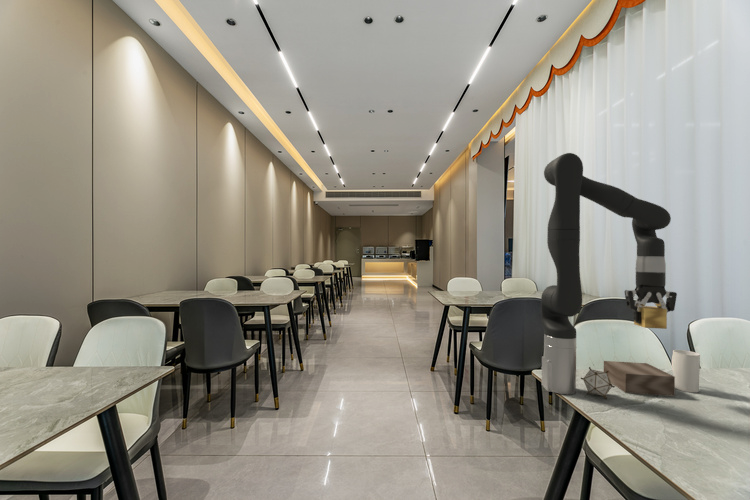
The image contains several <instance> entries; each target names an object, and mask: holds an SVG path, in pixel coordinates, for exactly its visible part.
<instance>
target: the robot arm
mask: <svg viewBox="0 0 750 500" xmlns="http://www.w3.org/2000/svg"><path fill="white" fill-rule="evenodd" d="M583 174H584V165H583V161H582V159H581V157H580V156H578V155H577V154H576V153H572V152H567V153H563V154H561V155H559V156H557V157H556V158H554V159H553V160H551V161H550V162H548V164H547V165H546V166H545V167H544V171H543V176H544V179H545V180H546V182H547V183H548V184H550V185H551V186H554V187H555V198H554V203H553V207H552V208H551V212H550V215H549V219H548V222H547V239H546V241H547V242H546V243H547V249H548V250H549V254H550V256H551V259H552V260H553V264H554V266H555V269H556V285H554V284H553V285H549V286H547V287H545V288H544V289H543V291H542V293H541V297H540V315H541V316H540V317H541V326H542V327H543V332H544V333H543V335H544V336H543V356H541V386H543V388H544V389H545V390H546V391H547V392H550V393H551V392H552V393H554V394H555V393H556V394H560V395H574V394H576V392H577V329H576V327H575V326H574V325H572V323H571V322H570V320H569V317H575V316H576V315H577V314H579V312H580V311H581V309H582V306H583V305H582V304H583V291H582V290H583V289H582V283H581V272H580V268H581V267H580V244H581V243H580V242H581V227H580V226H581V225H580V224H581V220H580V219H581V218H580V217H581V197H583V198H585V199H587V200H589V201H591V202H594V203H596V204H597V205H600V206H602V207H603V208H605V209H607V210H608V211H611V212H612V213H614V214H615V215H617V216H619V217H621V218H630V219H632V220H631V226H632V227H631V228H632V232H633V236H634V239H635V242H636V260H635V288H634V289H631V290H628V289H625V290H624V298H625V303H626V308H627V309H629V310H632V311H633V322H634V321H635V322H636V323H639V324H641V312H640V311H641V310H642V308H643V306H646V304H651V303H652V304H653V303H654V305H655V307H658V308H663V309H667V313H669V312H673V311H675V307H676V301H677V296H678V293H677V292H675V291H667V290H666V283H667V281H666V280H667V279H666V278H667V276H666V275H667V273H666V257H665V255H666V254H665V252H666V248H665V241H664V239H662V238H660V237H658V236H657V233H656V231H658V230H663V229H666V227H668V226H669V225H670V224H671V221H672V220H671V219H672V218H671V215H670V213H669V211H668V210H667V209H665V208H664V207H662V206H661V205H658V204H656V203H654V202H653V203H652V202H650V201H647V200H644V199H642V198H641V199H640V198H637V197H636V196H634V195H632V194H630V193H629V192H627V191H626V190H625V191H624V190H623V189H621V188H619V187H616V186H614V185H610V184H607V183H603V182H599V181H596V180H593V179H591V178H588V177H586V176H584V175H583ZM635 296H636V297H637V298H636V300H635V299H634V297H635ZM664 297H666V299H665V301H664V299H663V298H664ZM552 390H553V391H552Z"/></svg>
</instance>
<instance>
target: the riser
mask: <svg viewBox="0 0 750 500" xmlns="http://www.w3.org/2000/svg"><path fill="white" fill-rule="evenodd" d="M608 370H609V372H608V373H607V374H608V377H609V379H610V382H611V384H612V386H615V387H617V388H618V389H620V390H621V391H623V392H624V393H625V394H636V393H638V394H637V395H639V394H641V395H651V396H652V395H653V396H668V397H675V395H676V394H675V392H676V388H675V377H674V376H673V374H670V373H668V372H666V371H664V370H662V369H660V368H658V367H655V366H654V365H652V364H649V363H647V362H645V363H644V362H634V361H633V362H630V361H628V362H627V361H616V360H615V361H611V360H610V361H609V360H603V372H606V371H608Z"/></svg>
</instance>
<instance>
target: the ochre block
mask: <svg viewBox="0 0 750 500" xmlns="http://www.w3.org/2000/svg"><path fill="white" fill-rule="evenodd" d="M640 312H641V324H639V323H636V322H635V321H634V320H633V325H635V326H638V327H641V328H643V329H664V330H665V329H666V330H667V328H668V327H667V325H668V324H667V322H668V321H667V320H668V317H667V316H668V312H667V309H663V308H658V307H657V306H651V305H650V306H649V305H647V306H646V305H645V306H643V308H642V310H641V311H640Z"/></svg>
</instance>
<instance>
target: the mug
mask: <svg viewBox="0 0 750 500" xmlns="http://www.w3.org/2000/svg"><path fill="white" fill-rule="evenodd" d="M700 364H701V354H700V353H698V352H695V351H692V350H691V351H689V350H683V349H674V350H672V356H671V369H672V376H674V377H675V390H676V389H677V390H679V391H681V392H685V393H693V394H694V393H695V394H696V393H697V394H698V393H699V392H700V373H701V372H700V370H701V368H700V367H701V365H700Z"/></svg>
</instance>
